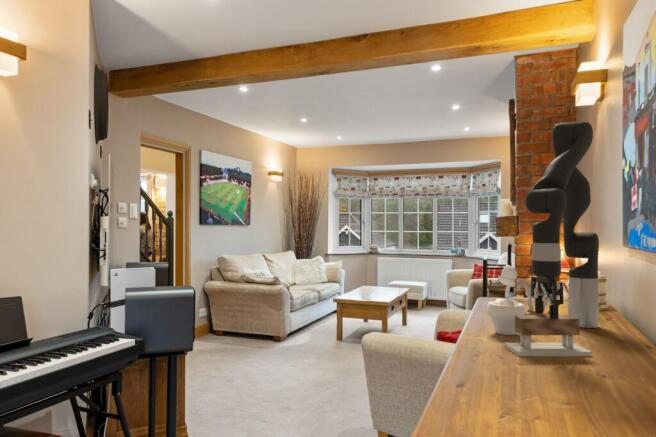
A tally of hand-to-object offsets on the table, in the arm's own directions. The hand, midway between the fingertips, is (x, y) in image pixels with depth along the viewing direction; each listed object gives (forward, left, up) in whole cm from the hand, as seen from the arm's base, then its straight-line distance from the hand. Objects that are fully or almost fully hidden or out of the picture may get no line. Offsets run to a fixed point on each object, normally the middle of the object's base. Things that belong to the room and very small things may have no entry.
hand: (546, 316), depth 132 cm
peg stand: (0, 0, -10) cm, 10 cm away
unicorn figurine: (-59, +23, -10) cm, 64 cm away
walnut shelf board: (0, 0, -5) cm, 5 cm away
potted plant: (-22, -3, -10) cm, 24 cm away
